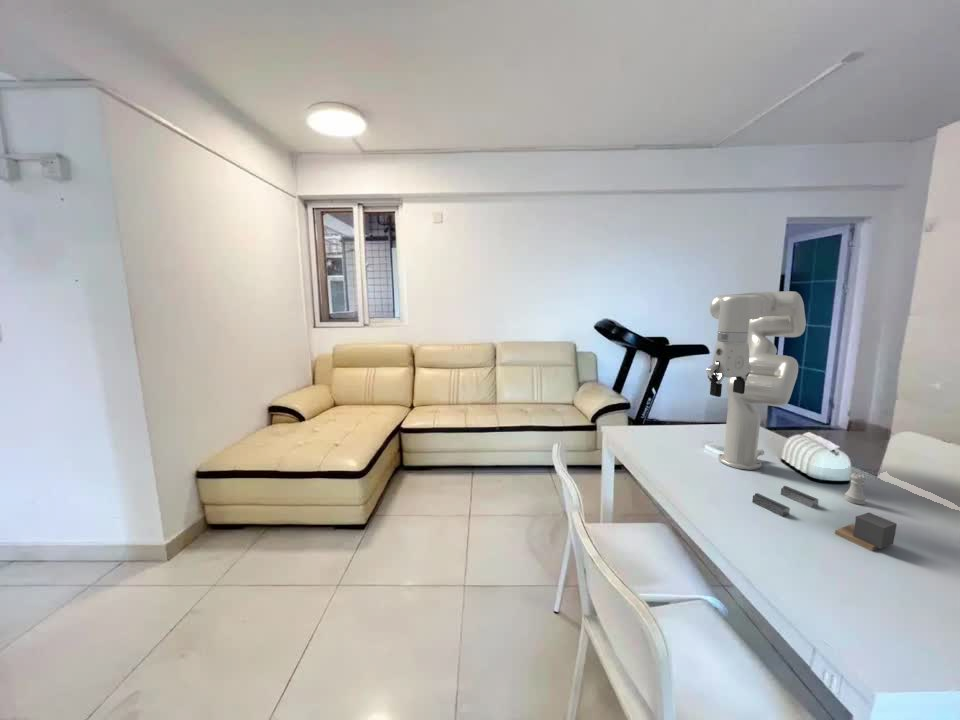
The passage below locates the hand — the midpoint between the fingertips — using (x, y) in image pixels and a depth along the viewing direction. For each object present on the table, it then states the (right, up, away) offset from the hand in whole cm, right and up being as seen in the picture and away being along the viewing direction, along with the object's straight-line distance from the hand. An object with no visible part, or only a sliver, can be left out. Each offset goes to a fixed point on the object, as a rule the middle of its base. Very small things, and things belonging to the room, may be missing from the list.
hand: (727, 394), depth 117 cm
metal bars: (+10, -30, -9) cm, 33 cm away
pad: (+16, -32, -24) cm, 44 cm away
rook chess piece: (+31, -30, -7) cm, 44 cm away
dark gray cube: (+17, -32, -26) cm, 45 cm away
